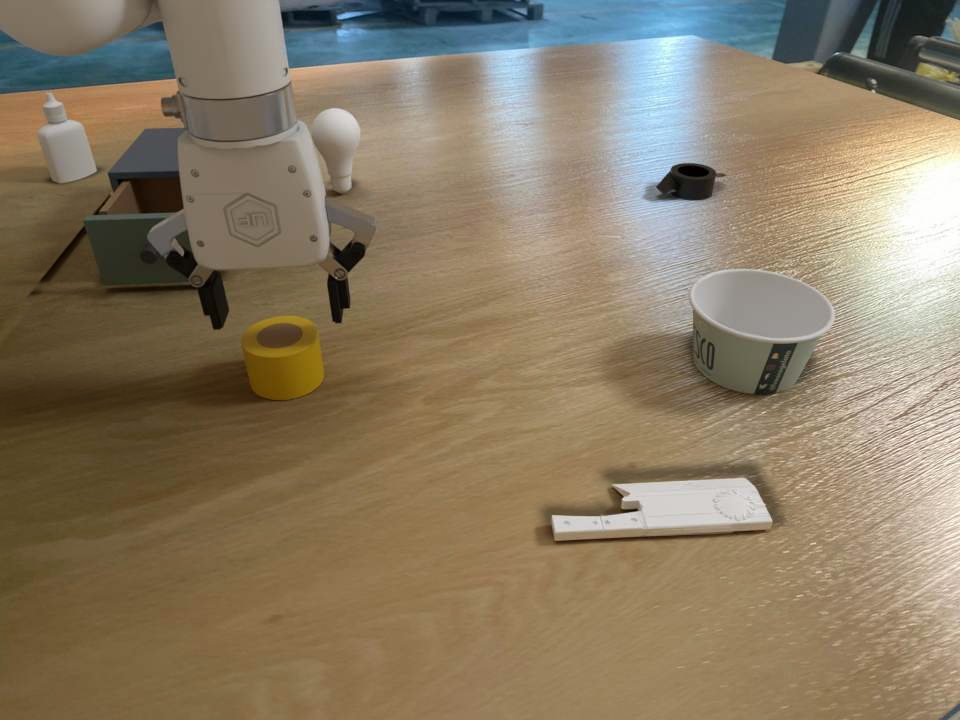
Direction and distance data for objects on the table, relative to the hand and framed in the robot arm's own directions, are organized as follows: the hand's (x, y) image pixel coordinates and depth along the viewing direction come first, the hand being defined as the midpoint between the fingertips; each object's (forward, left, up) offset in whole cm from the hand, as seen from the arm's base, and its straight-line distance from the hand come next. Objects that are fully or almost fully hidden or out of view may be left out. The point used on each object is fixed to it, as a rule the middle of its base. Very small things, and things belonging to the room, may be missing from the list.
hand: (280, 317), depth 63 cm
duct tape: (+48, +38, -7) cm, 61 cm away
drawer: (-15, +23, -5) cm, 28 cm away
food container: (+41, -1, -6) cm, 41 cm away
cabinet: (-15, +34, -6) cm, 38 cm away
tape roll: (0, 0, -6) cm, 6 cm away
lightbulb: (+2, +41, -7) cm, 42 cm away
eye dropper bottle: (-34, +47, -6) cm, 59 cm away
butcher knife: (+28, -18, -6) cm, 34 cm away
